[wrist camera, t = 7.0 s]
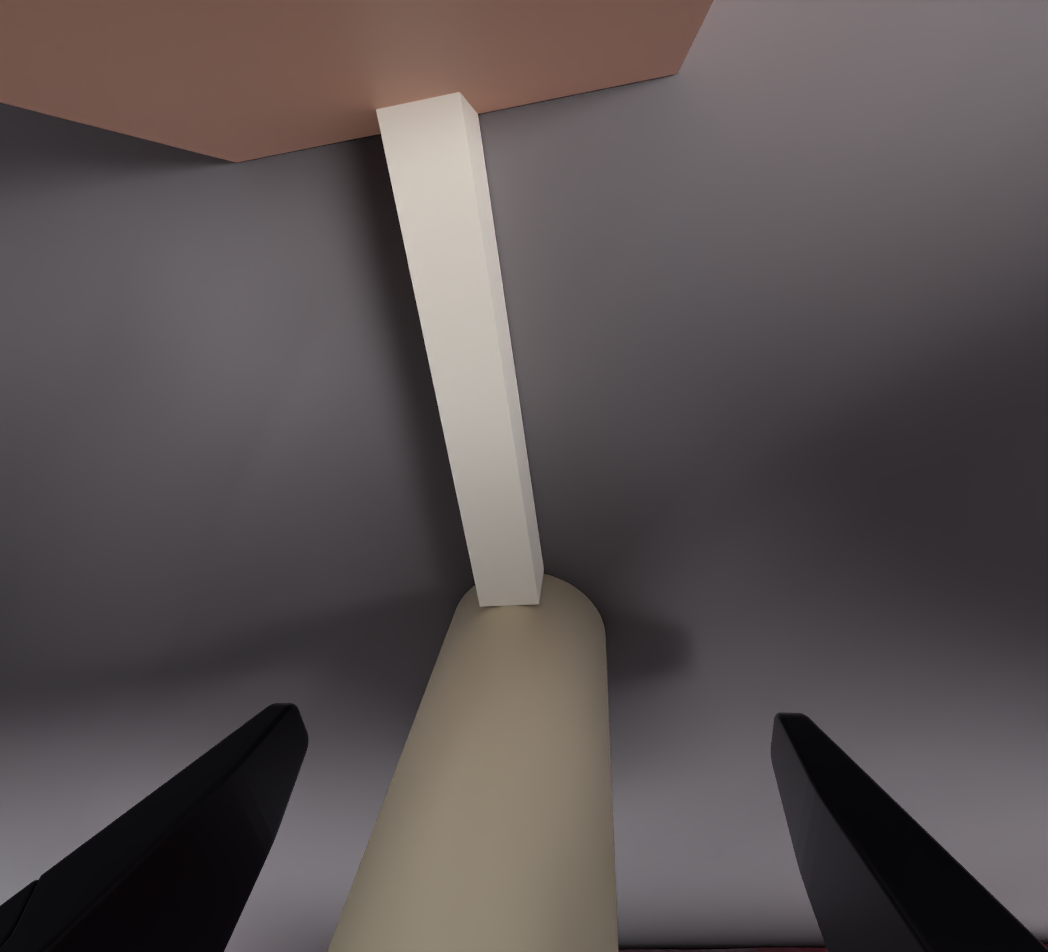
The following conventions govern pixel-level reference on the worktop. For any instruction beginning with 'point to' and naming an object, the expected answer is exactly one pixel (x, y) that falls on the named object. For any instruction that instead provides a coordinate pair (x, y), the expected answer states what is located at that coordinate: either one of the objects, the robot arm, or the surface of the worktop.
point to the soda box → (743, 950)
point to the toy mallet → (460, 386)
